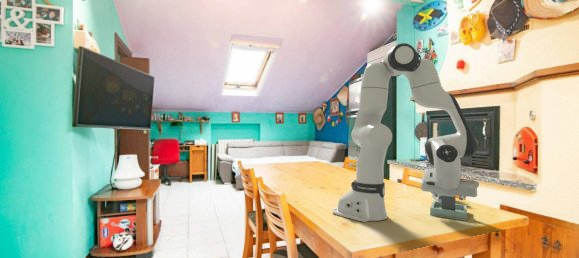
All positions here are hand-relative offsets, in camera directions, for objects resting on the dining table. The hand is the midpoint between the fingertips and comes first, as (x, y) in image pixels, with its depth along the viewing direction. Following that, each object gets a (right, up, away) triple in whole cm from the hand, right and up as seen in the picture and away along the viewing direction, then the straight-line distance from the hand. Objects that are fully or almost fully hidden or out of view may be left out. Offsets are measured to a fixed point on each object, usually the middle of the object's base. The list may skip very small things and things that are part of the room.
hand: (448, 196), depth 118 cm
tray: (0, -7, 0) cm, 7 cm away
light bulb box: (+10, -7, +23) cm, 26 cm away
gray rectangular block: (0, -6, 0) cm, 6 cm away
